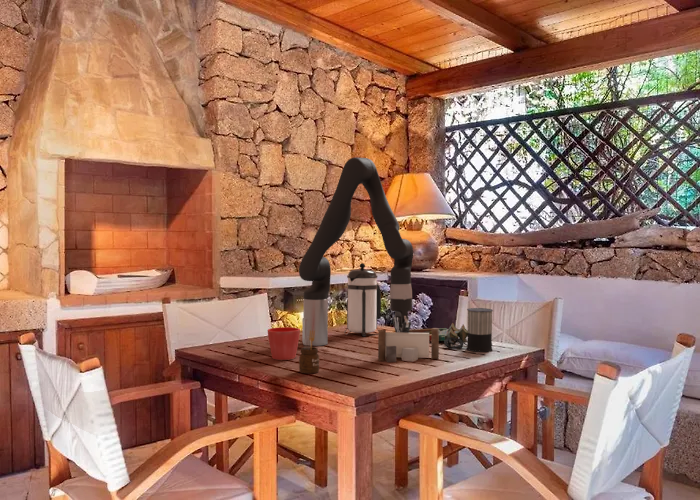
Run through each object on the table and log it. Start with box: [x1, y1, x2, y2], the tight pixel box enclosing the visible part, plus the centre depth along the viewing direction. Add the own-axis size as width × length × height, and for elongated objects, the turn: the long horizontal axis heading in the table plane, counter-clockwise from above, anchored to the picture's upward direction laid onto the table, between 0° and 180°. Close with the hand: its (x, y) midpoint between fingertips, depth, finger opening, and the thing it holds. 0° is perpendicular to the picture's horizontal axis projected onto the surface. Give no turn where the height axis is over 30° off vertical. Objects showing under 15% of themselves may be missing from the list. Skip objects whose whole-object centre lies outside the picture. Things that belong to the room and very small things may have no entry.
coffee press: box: [343, 262, 382, 338], centre depth 256 cm, size 17×16×30 cm
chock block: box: [401, 347, 419, 362], centre depth 201 cm, size 4×4×4 cm
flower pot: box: [267, 326, 301, 361], centre depth 203 cm, size 11×11×10 cm
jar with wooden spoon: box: [298, 330, 320, 375], centre depth 182 cm, size 6×6×12 cm
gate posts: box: [377, 327, 440, 363], centre depth 200 cm, size 21×4×10 cm, turn 103°
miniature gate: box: [409, 322, 468, 343], centre depth 244 cm, size 27×6×30 cm
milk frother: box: [443, 307, 494, 353], centre depth 221 cm, size 14×16×15 cm
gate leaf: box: [386, 331, 430, 359], centre depth 204 cm, size 15×2×8 cm, turn 86°
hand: (402, 347), depth 209 cm, fingers closed
